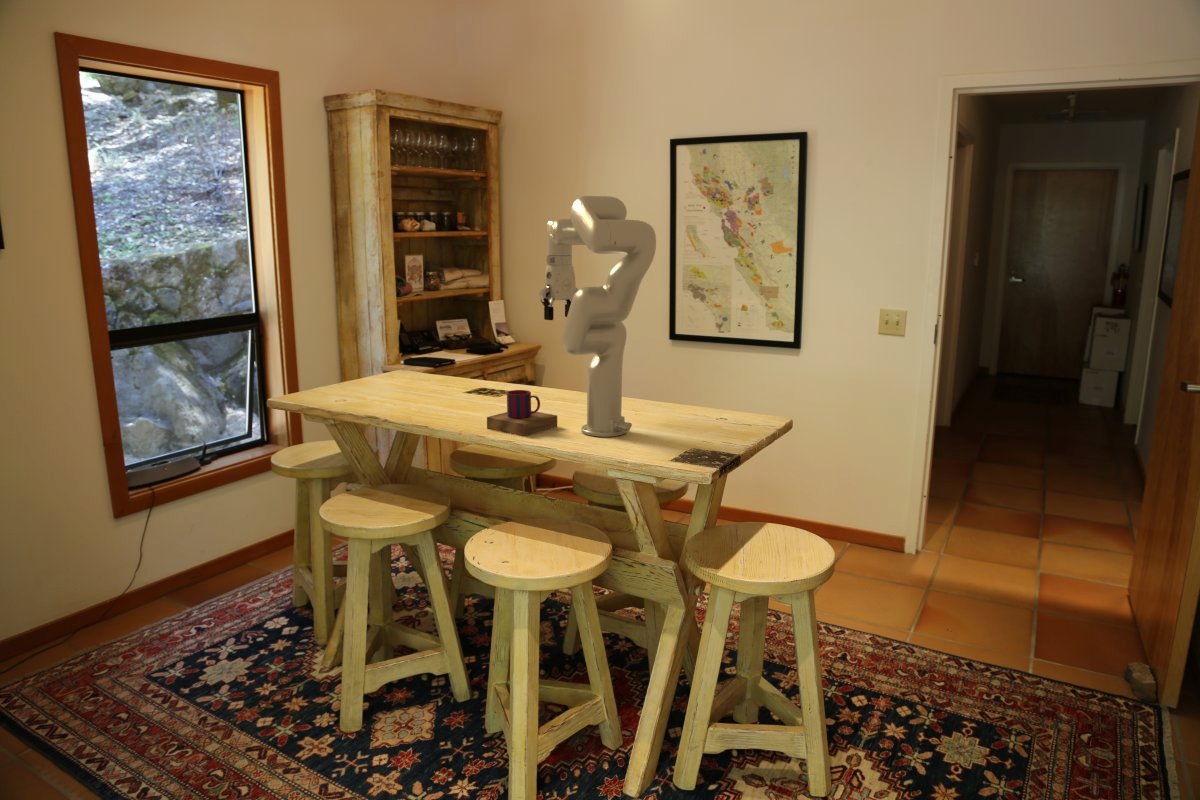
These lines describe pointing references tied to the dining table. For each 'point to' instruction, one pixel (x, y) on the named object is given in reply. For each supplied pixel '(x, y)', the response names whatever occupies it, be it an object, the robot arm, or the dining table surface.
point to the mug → (520, 404)
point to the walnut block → (522, 423)
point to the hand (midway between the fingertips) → (559, 318)
